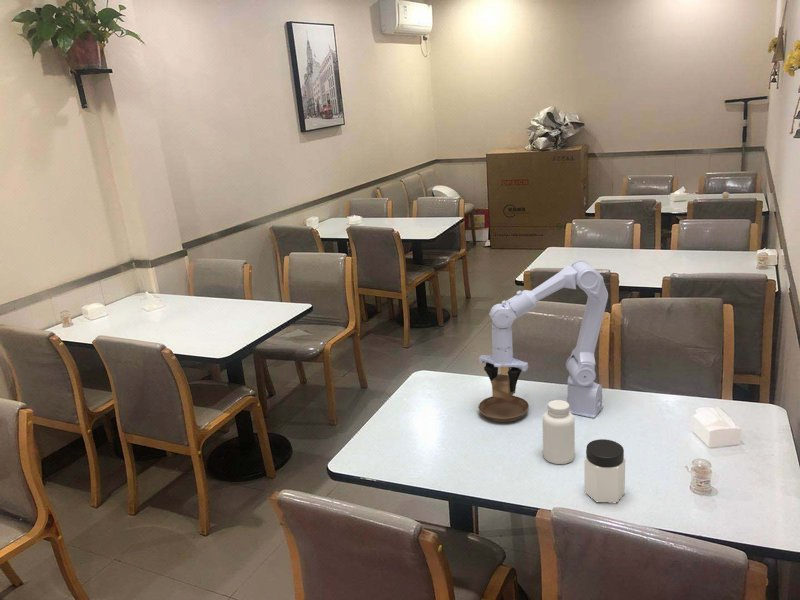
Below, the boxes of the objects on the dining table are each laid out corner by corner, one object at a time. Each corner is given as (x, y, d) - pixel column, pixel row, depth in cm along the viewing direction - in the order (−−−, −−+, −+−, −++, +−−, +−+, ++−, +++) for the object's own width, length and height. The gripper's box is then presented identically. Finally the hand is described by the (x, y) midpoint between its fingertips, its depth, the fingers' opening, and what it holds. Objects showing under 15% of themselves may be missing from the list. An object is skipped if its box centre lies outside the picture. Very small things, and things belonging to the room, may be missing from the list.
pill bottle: (575, 450, 165) (575, 398, 161) (573, 466, 158) (573, 413, 154) (544, 447, 168) (544, 396, 163) (541, 463, 161) (540, 410, 156)
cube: (515, 392, 185) (514, 376, 183) (508, 399, 181) (507, 383, 180) (499, 389, 188) (499, 374, 186) (492, 396, 184) (491, 380, 182)
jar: (595, 478, 153) (595, 434, 149) (628, 489, 147) (630, 444, 144) (579, 497, 146) (579, 451, 143) (613, 509, 141) (614, 462, 138)
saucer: (472, 422, 184) (472, 414, 183) (486, 400, 197) (486, 392, 196) (522, 429, 178) (522, 420, 177) (533, 405, 191) (533, 397, 190)
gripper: (473, 346, 181) (475, 389, 185) (520, 354, 173) (521, 399, 177) (484, 338, 186) (486, 380, 190) (530, 345, 178) (531, 389, 182)
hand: (504, 388), depth 184 cm, fingers closed on cube, 5 cm apart
